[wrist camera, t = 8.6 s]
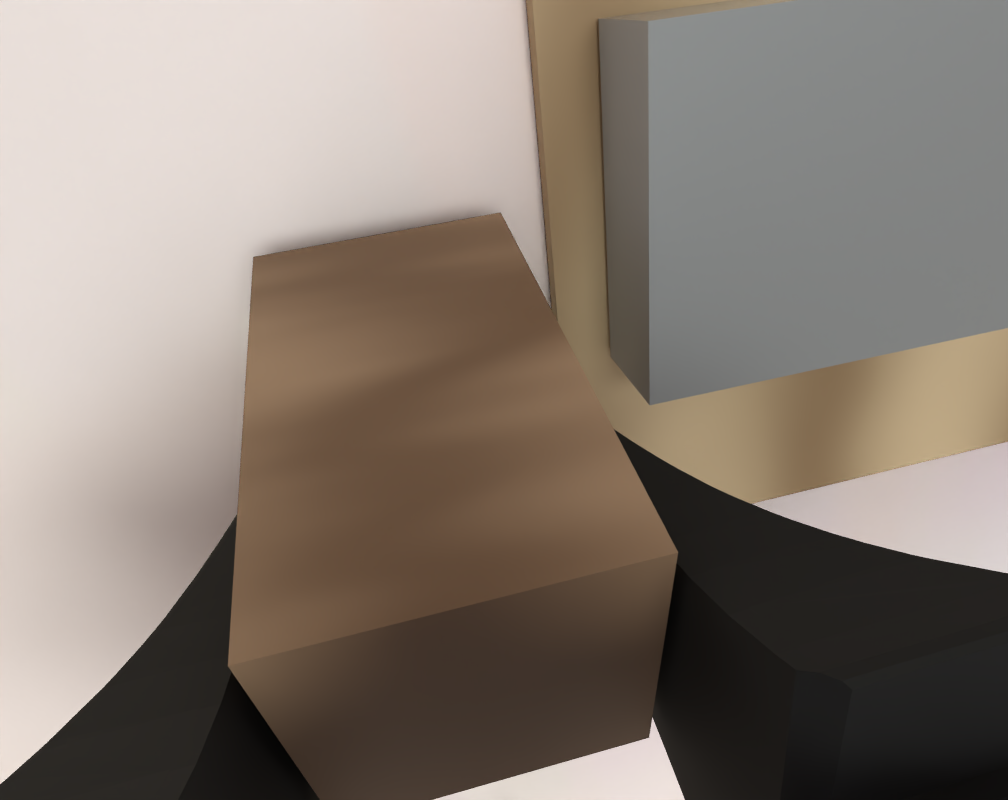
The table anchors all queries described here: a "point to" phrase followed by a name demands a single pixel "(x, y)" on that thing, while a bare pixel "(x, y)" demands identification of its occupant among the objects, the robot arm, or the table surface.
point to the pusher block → (435, 523)
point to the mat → (752, 407)
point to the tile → (801, 185)
